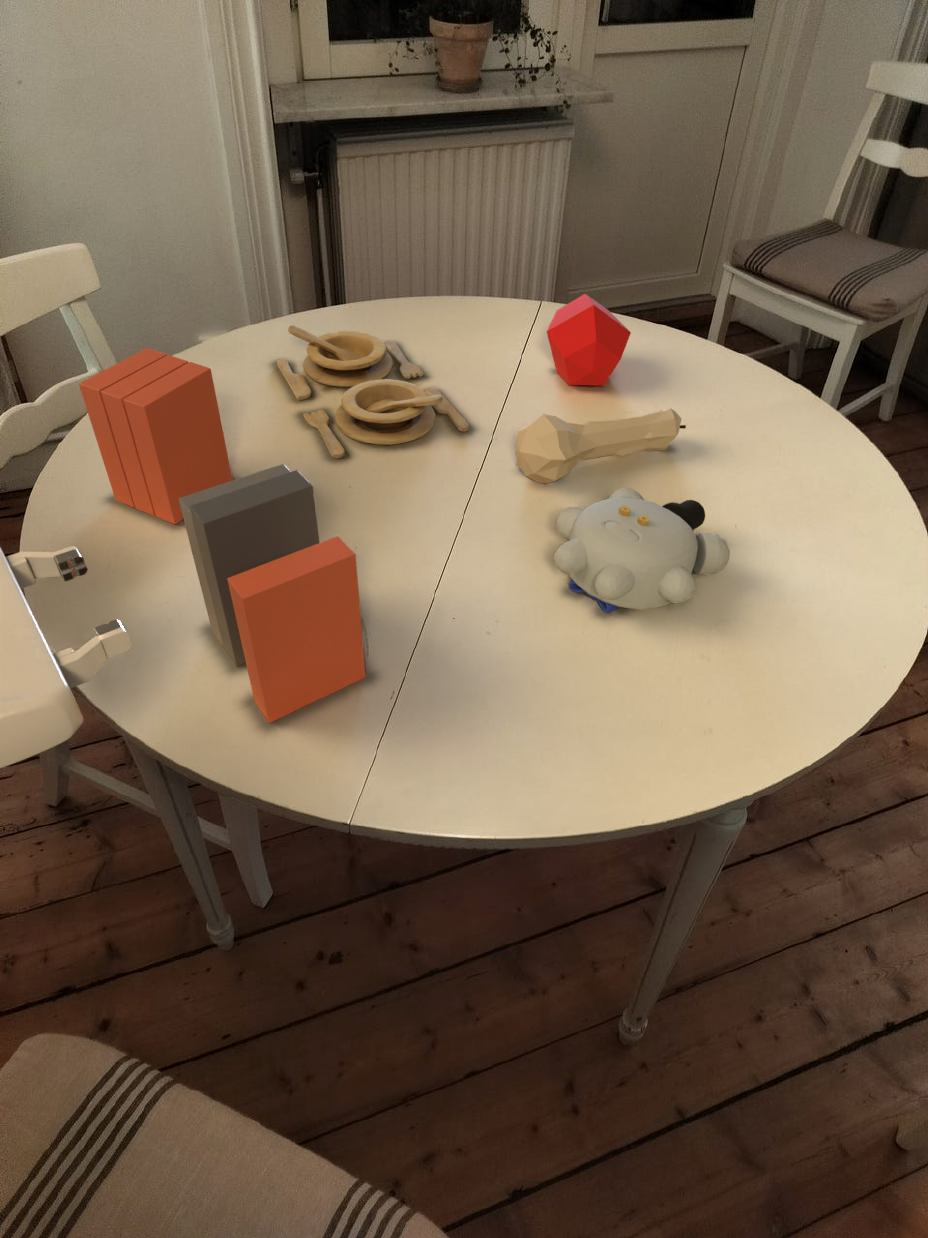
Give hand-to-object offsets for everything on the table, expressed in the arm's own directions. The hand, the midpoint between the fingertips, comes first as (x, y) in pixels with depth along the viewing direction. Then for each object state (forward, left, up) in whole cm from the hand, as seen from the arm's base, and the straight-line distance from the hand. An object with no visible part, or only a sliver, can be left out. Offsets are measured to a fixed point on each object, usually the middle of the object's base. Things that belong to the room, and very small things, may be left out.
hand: (104, 594), depth 59 cm
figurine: (+45, -26, -19) cm, 55 cm away
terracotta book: (+13, -6, -19) cm, 23 cm away
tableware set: (+62, +21, -19) cm, 68 cm away
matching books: (+30, +27, -19) cm, 44 cm away
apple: (+84, -3, -19) cm, 86 cm away
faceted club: (+63, -15, -19) cm, 67 cm away
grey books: (+17, +2, -19) cm, 25 cm away
